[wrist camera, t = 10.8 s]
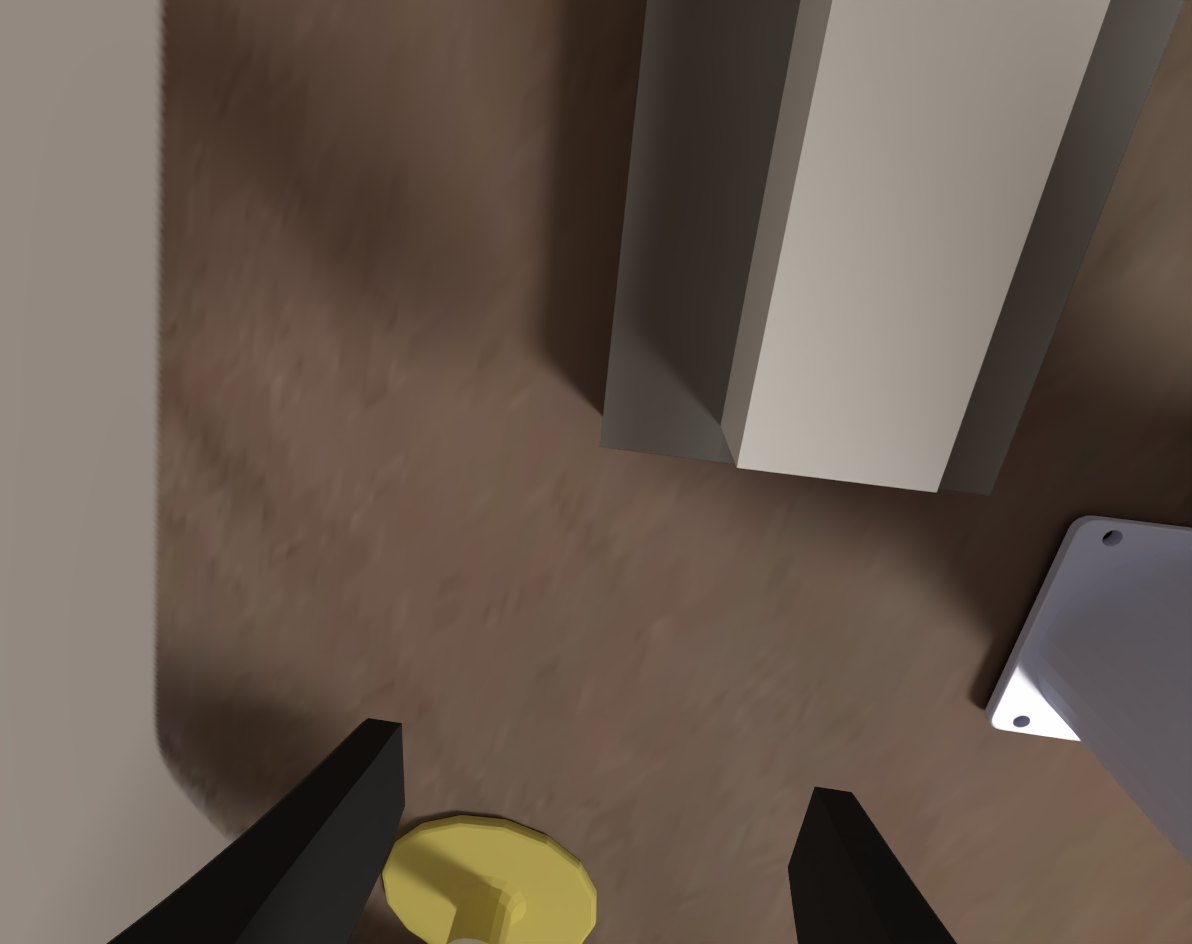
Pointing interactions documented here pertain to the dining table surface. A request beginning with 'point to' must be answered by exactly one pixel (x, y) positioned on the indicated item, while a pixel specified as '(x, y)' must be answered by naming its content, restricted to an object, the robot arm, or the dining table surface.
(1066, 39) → the cream rectangular block
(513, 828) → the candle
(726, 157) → the socket board
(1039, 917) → the dining table surface
